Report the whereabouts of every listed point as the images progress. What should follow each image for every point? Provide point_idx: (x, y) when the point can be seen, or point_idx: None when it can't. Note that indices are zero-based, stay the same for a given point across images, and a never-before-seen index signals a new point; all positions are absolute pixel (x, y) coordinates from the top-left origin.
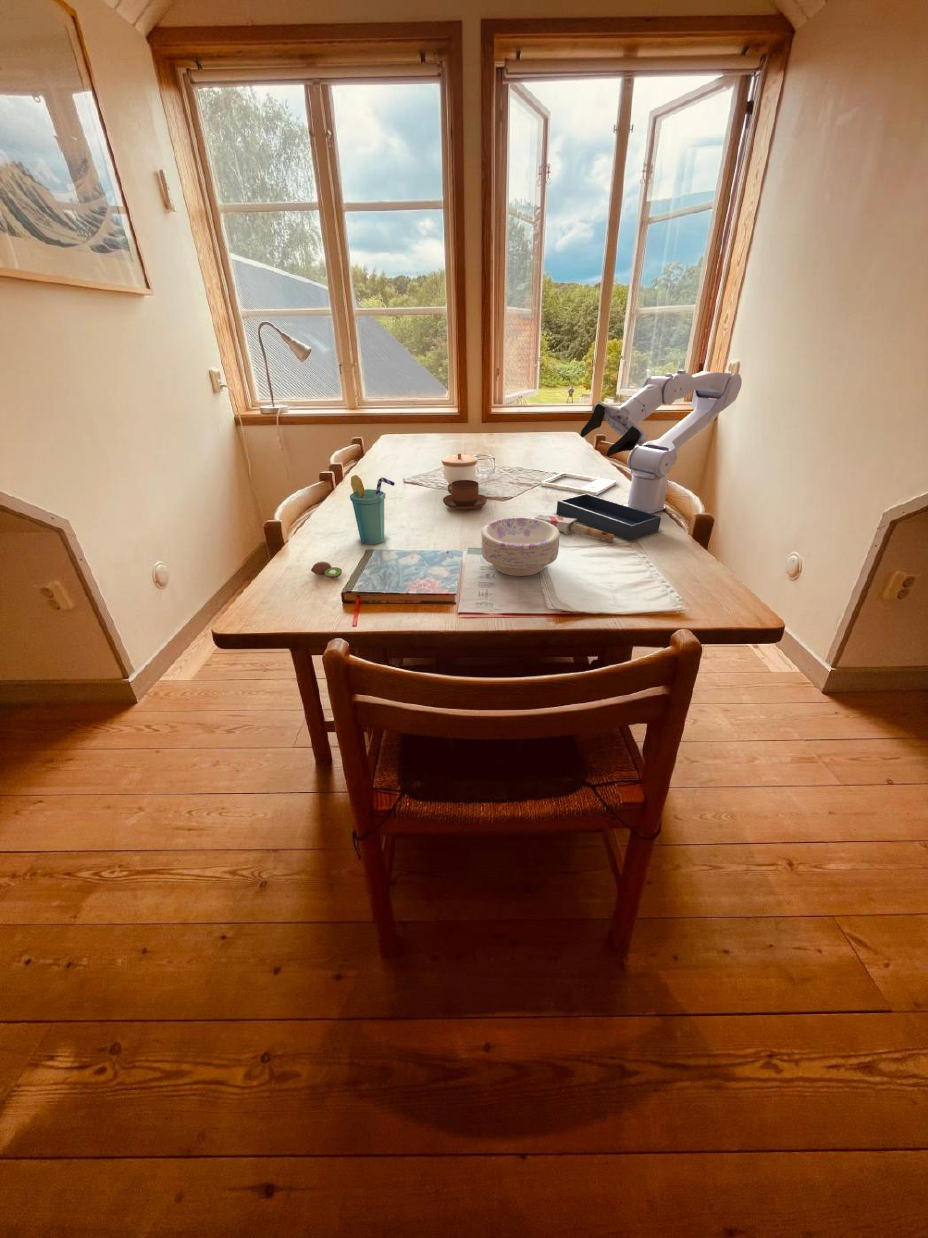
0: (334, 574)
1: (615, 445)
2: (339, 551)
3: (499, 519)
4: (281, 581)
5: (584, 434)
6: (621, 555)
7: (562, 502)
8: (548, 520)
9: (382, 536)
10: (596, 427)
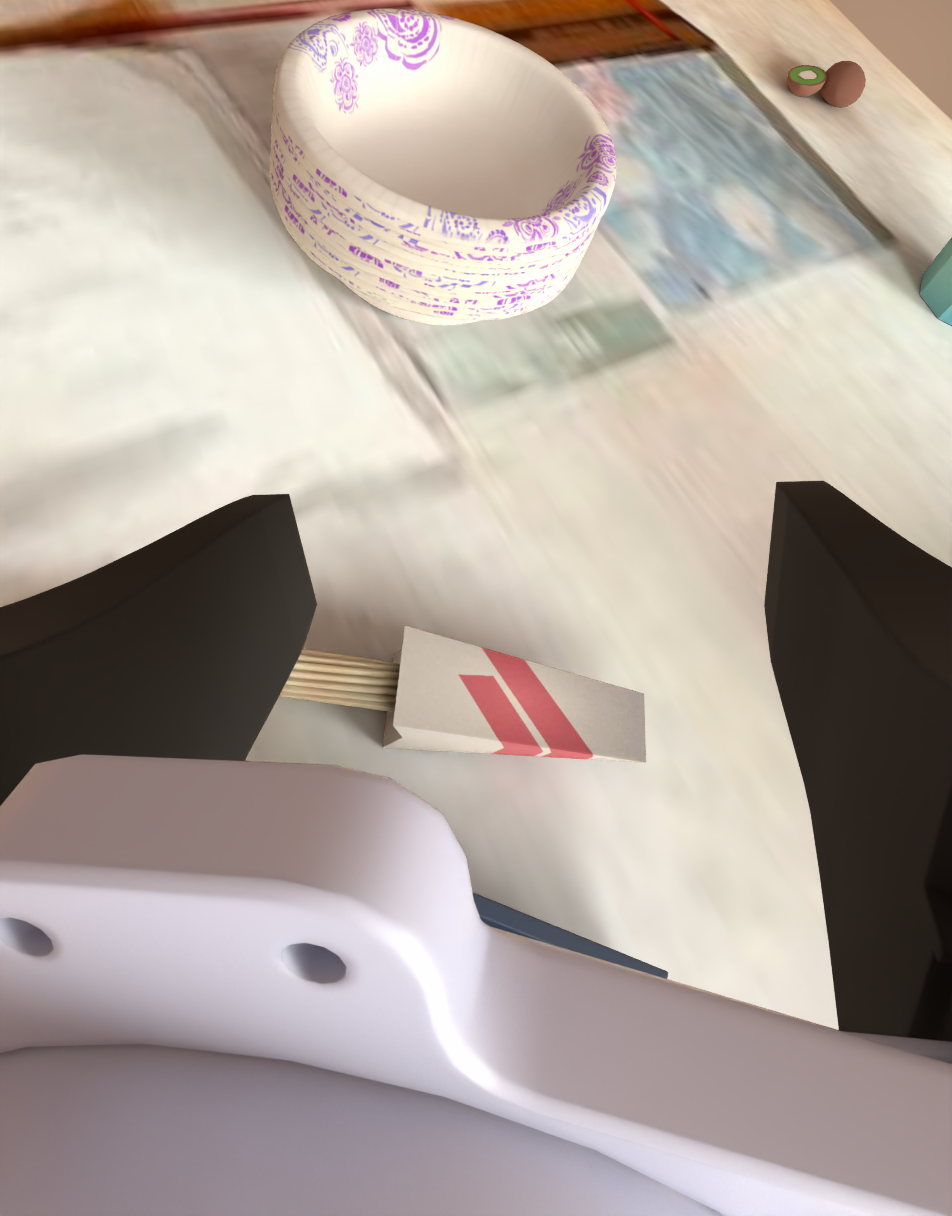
0: (795, 73)
1: (203, 520)
2: (935, 213)
3: (602, 186)
4: (861, 63)
5: (771, 594)
6: (10, 499)
7: (617, 952)
8: (546, 666)
9: (939, 291)
10: (835, 970)
